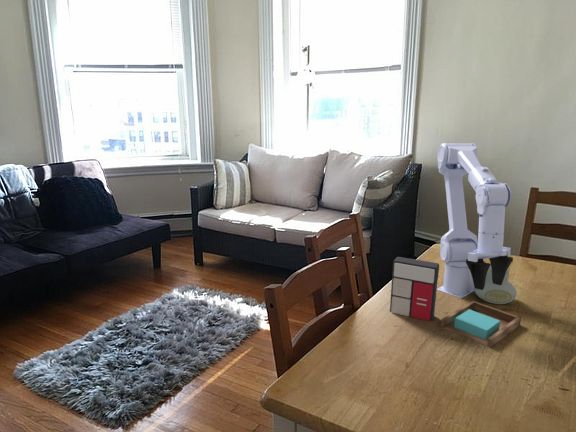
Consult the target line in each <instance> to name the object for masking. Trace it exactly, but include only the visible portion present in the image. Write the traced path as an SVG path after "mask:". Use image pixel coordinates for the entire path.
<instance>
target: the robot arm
mask: <svg viewBox="0 0 576 432" xmlns="http://www.w3.org/2000/svg"><path fill="white" fill-rule="evenodd" d="M478 154H479V151H478V146H477V145H476V144H475V142H470V143H467V142H466V143H456V142H455V143H452V142H451V143H449V142H447V143H446V142H441V144H440V145H439V147H438V149H437V155H436V156H437V157H436V158H437V165H438V166H437V168H438V173H439V174H440V175H442V176H443V177H444V186H445V195H446V204H447V205H446V207H447V217H448V225H449V226H448V228H449V229H448V231H447V232H446V233H445V234H444V235H442V237H441V238H440V247H439V250H440V251H439V255H440V258H441V260H442V261H443V263H444V264H445V265H444V273H443V281H442V282H443V283H442V285H441V286H440V287H438V288H437V291H439V292H443V293H445V294H448V295H451V296H454V297H456V298H459V299H463V298H465V297H467V296H468V295H470V294H472V293H475V291H474V288H476V289H480V290H483V289H484V286H485V280H486V275H487V271H488V269H489V267H490V265H491V268H492V282H493V284H497V285H502V283H503V280H504V277H505V274H506V271H507V269H508V268H509V267H510V266H511V264H512V263H513V262H514V258H513V257H512V256H511V249H512V248H511V247H509V246H508V247H506V246H504V237H505V217H506V216H505V215H506V207H508V206H509V205H510V204H511V203H510V202H511V199H512V192H511V187H509V185H508V184H507V183H503V182H499V181H498V180H497V177H495V175H494V174H493V173H492V171H491V169H489V168H488V167H487V166H482V164H481V163H480V160H479V158H478V157H479V155H478ZM467 174H468V176H467V181H468V183H469V184H470V186H471V187H472V189H473V190H474V192H475V201H476V202H475V203H476V207H477V208H476V211H477V214H479V215H478V235H476V234H475V233H474V232H472V231H471V230H469V229H468V221H467V211H466V202H465V193H464V192H465V191H464V184H463V178H464V176H465V175H467ZM487 259H489V263H488V262H485V260H487Z"/></svg>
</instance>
